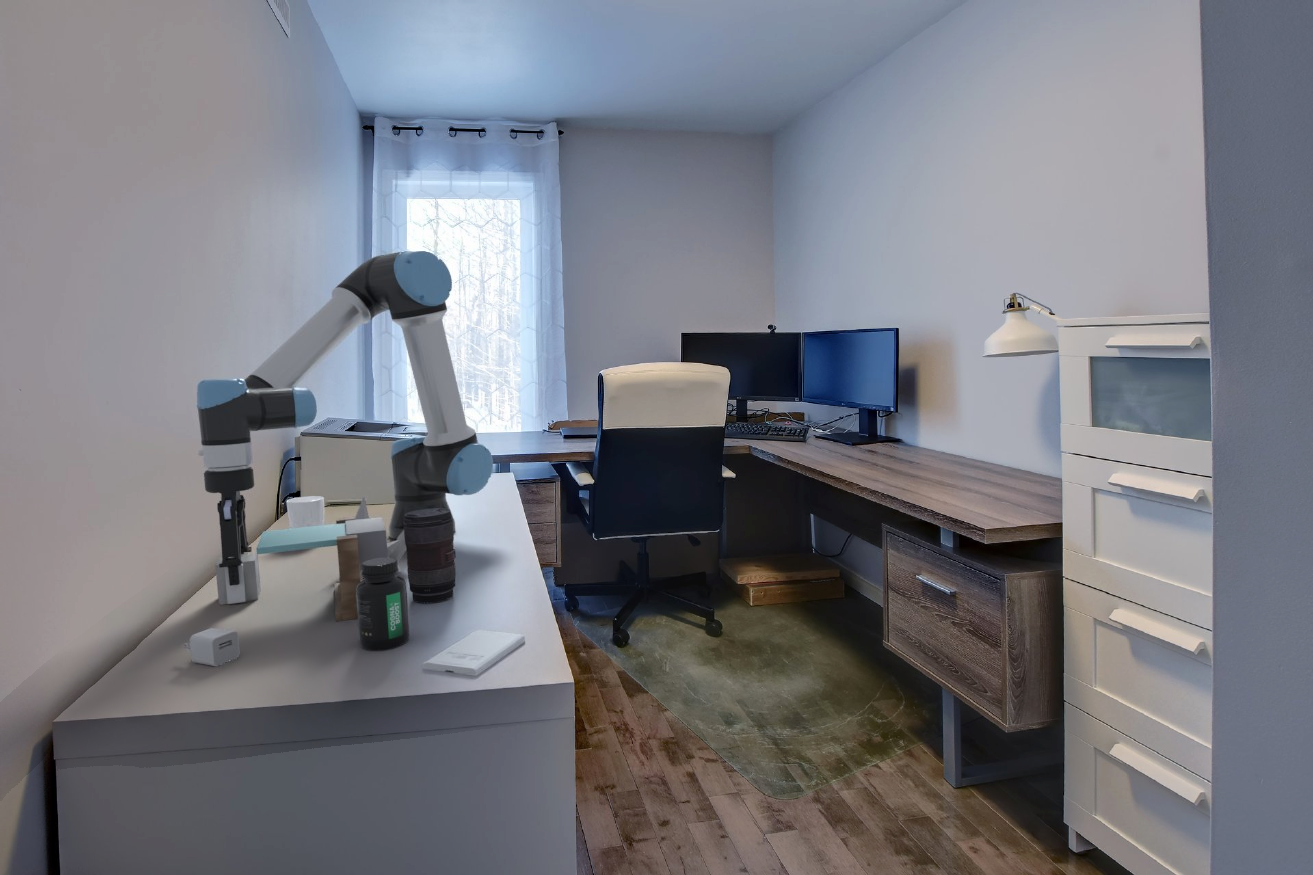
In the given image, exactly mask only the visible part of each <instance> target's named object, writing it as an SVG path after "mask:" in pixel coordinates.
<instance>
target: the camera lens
mask: <svg viewBox="0 0 1313 875" xmlns="http://www.w3.org/2000/svg"><path fill="white" fill-rule="evenodd" d="M451 513H452V511H451V508H450V509H446V508H432V509H422V510H416V511H412V512H408V513H406V514H405V515H404V516H405V518H404V523H403V524H404V537H405V545H406V561H407V564H406V565H407V580H408V586H409V591H410V592H411V594H412V600H413V601H414V602H415V603H419V604H436V603H442V602H445V601H447V600H450V599H451V598H453V596H454V588H455V587H456V578H457V571H456V568H457V567H456V562H455V559H456V558H457V557H456V554H457V552H456V550H457V549H456V548H454V539H455V538H454V536H455V534H454V533H455V531H454V529H453V518H454V517H453V518H452V515H453V514H452V515H451Z"/></svg>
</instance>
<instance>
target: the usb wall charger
mask: <svg viewBox="0 0 1313 875" xmlns="http://www.w3.org/2000/svg"><path fill="white" fill-rule="evenodd" d="M183 647H184V649H188V650H190V658H191V661H192V662H193V663H195V664H201V665H207V666H211V667H219V666H218V665H220V666H222V665H224V664H226V663H225V662H227V663H229V662H230V661H229V660H232V659H234V658H236V659H238V658H239V657H240V640H239V634H238V631H236V630H231V629H224V628H216V627H210V628H208V629H205V630H202V631H199V632H196V633H193V634H192V635H191V636H190V638H189V642H188V643H187V642H186V643H184V644H183ZM237 657H238V658H237ZM234 660H235V659H234ZM228 661H229V662H228ZM232 661H233V660H232ZM223 663H224V664H223Z"/></svg>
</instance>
